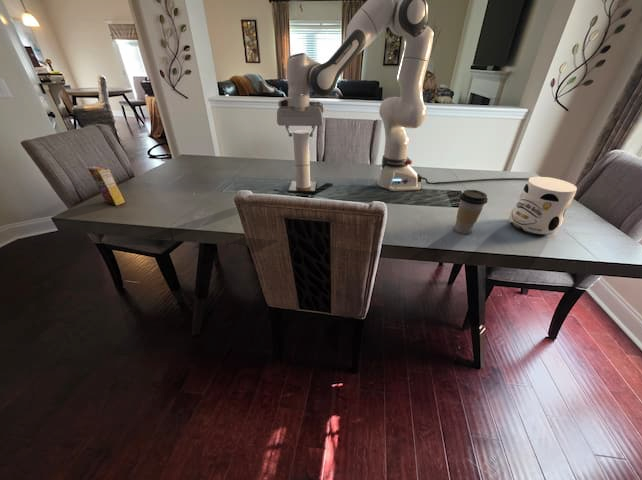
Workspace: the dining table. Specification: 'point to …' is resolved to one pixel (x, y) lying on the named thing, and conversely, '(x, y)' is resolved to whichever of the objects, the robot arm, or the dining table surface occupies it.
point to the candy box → (106, 185)
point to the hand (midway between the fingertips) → (300, 136)
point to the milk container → (542, 205)
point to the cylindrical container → (302, 158)
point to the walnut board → (302, 190)
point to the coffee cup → (469, 210)
